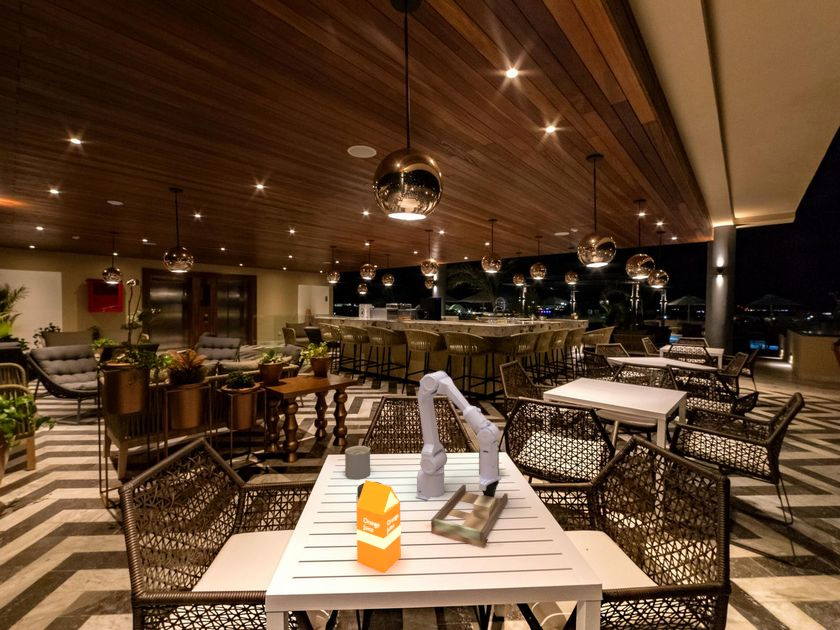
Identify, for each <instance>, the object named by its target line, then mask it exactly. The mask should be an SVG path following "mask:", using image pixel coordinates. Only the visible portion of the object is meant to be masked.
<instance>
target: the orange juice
mask: <svg viewBox="0 0 840 630" xmlns="http://www.w3.org/2000/svg"><path fill="white" fill-rule="evenodd" d="M375 482H376V481H372V480H368V479H365V481H364V482H363V483H364V486H363V489H362V492H361V495H360V498H359V501H358V504H357V507H356V554H357V555H356V559H357V560H356V561H357V563H358V564H360V565H363V566H366V567H368V568H370V569H373V570H375V571H378V572H379V573H383V574H386V572H387V571H388V570H389V569H390V568H391V567H392V566H394V564H395V563H396V562H398V560H399V559H400V558H401V557H402V553H401V550H402V549H401V548H402V546H401V545H402V543H401V542H402V541H401V540H402V539H401V537H402V536H401V535H402V530H401V501H400V499H399V498H398V496H397V495H396V493H395V491H394V489H393V487H392V486H390V485H387V484H382V483H381V484H379V483H380V482H379V483H375Z"/></svg>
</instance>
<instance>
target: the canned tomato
mask: <svg viewBox="0 0 840 630" xmlns="http://www.w3.org/2000/svg"><path fill="white" fill-rule="evenodd" d="M497 449H498V476H500V470H499V469H500V459H499V457H500V456H499V455H500V452H499V446H497ZM478 461H479V462H478V472H479V473H478V474H479V475H478V476H480V446H478Z"/></svg>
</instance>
